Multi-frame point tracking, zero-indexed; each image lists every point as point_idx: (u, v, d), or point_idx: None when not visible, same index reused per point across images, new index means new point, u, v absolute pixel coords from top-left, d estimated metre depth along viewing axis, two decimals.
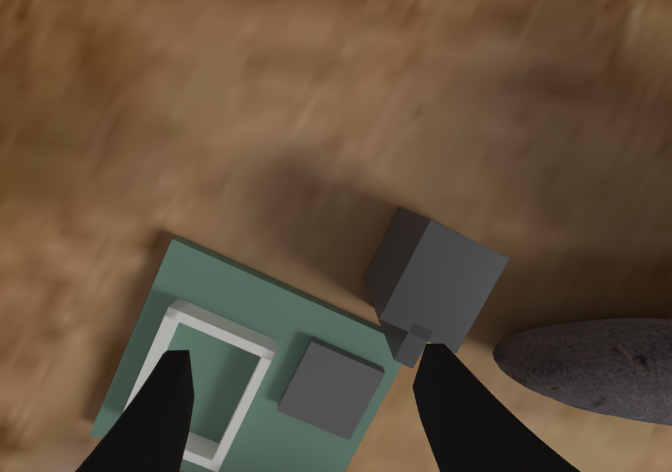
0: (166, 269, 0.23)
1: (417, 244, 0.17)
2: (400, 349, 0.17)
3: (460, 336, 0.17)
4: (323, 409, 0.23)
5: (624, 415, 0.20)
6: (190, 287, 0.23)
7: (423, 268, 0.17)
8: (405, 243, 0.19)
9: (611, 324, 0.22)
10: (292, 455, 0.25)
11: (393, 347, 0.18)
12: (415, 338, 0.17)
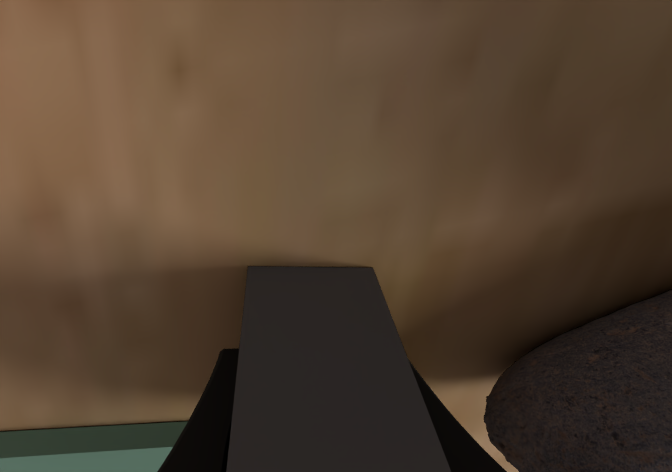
0: None
1: None
2: None
3: None
4: None
5: None
6: None
7: None
8: None
9: None
10: None
11: None
12: None
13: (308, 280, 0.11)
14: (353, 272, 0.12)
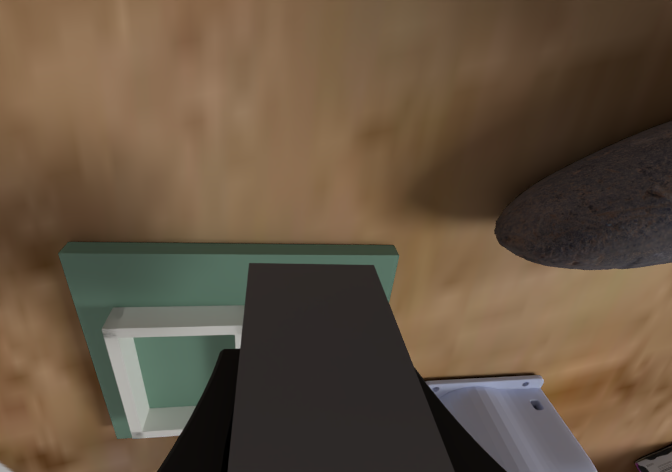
0: (77, 286, 0.18)
1: None
2: None
3: None
4: None
5: (665, 263, 0.16)
6: (118, 292, 0.19)
7: None
8: None
9: (641, 151, 0.16)
10: None
11: None
12: None
13: (309, 277, 0.11)
14: (354, 269, 0.12)
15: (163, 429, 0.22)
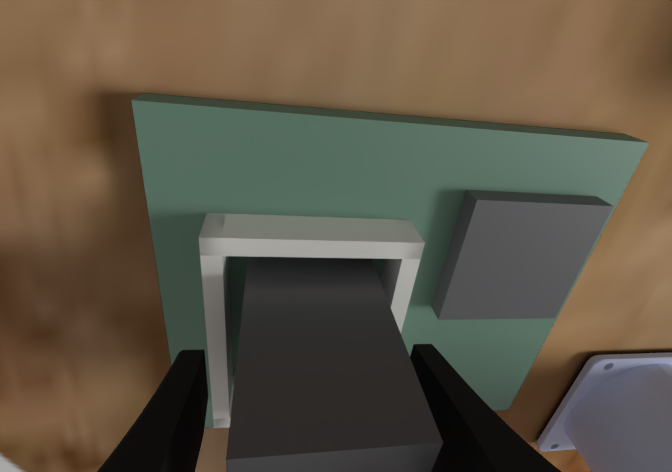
0: (156, 169, 0.11)
1: None
2: None
3: None
4: (511, 293, 0.14)
5: None
6: (218, 185, 0.11)
7: None
8: None
9: None
10: (464, 358, 0.17)
11: None
12: None
13: (306, 258, 0.12)
14: None
15: None
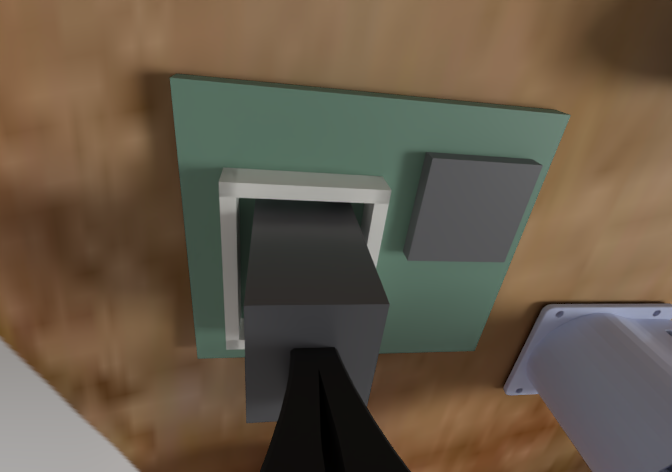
0: (185, 131, 0.14)
1: None
2: None
3: None
4: (466, 239, 0.18)
5: None
6: (232, 145, 0.15)
7: (270, 359, 0.11)
8: None
9: None
10: (433, 300, 0.20)
11: None
12: None
13: (300, 204, 0.16)
14: None
15: None
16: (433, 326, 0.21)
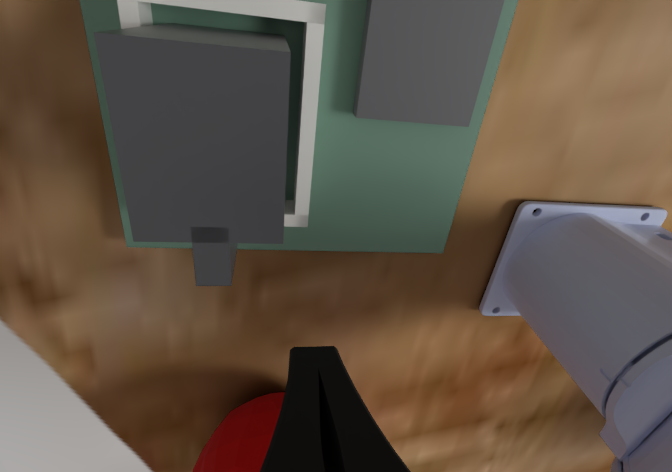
0: None
1: (106, 94, 0.08)
2: (195, 269, 0.11)
3: (275, 219, 0.10)
4: (423, 91, 0.15)
5: None
6: None
7: (147, 134, 0.09)
8: None
9: None
10: (392, 182, 0.18)
11: None
12: (208, 247, 0.11)
13: (222, 29, 0.13)
14: (265, 33, 0.14)
15: None
16: (394, 218, 0.19)
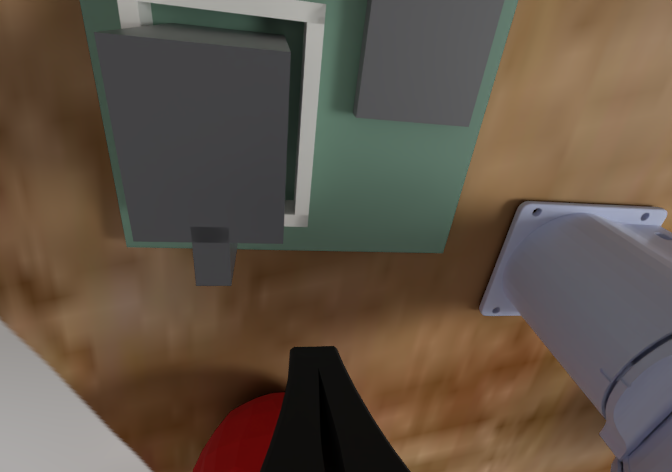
0: None
1: (106, 93, 0.08)
2: (195, 269, 0.11)
3: (275, 218, 0.10)
4: (423, 91, 0.15)
5: None
6: None
7: (147, 134, 0.09)
8: None
9: None
10: (392, 182, 0.18)
11: None
12: (208, 247, 0.11)
13: (222, 29, 0.13)
14: (265, 33, 0.14)
15: None
16: (394, 218, 0.19)
